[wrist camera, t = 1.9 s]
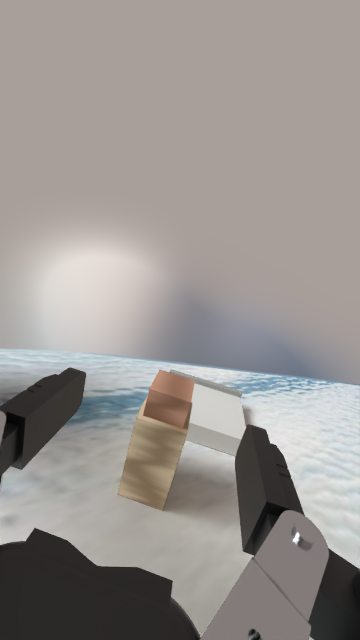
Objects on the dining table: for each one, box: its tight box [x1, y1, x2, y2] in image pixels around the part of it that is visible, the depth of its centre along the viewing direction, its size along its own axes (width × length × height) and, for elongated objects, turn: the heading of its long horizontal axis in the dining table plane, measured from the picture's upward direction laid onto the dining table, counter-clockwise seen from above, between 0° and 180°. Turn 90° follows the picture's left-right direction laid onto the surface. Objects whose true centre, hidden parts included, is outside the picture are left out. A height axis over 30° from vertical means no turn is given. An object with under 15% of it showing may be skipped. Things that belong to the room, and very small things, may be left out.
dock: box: [170, 369, 246, 456], centre depth 39 cm, size 14×12×4 cm
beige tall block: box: [118, 370, 195, 511], centre depth 25 cm, size 5×5×13 cm
